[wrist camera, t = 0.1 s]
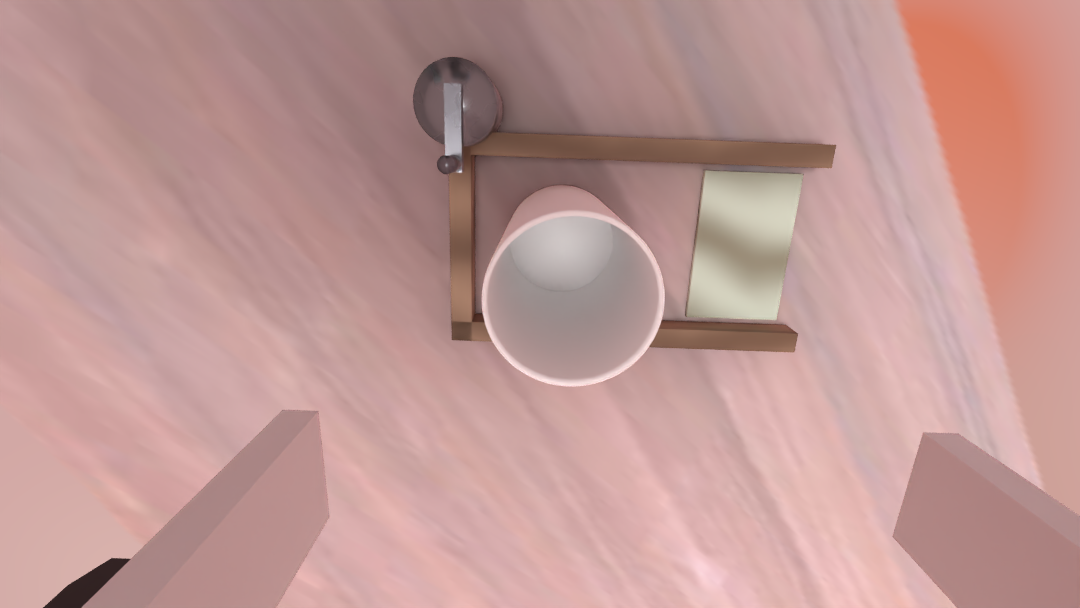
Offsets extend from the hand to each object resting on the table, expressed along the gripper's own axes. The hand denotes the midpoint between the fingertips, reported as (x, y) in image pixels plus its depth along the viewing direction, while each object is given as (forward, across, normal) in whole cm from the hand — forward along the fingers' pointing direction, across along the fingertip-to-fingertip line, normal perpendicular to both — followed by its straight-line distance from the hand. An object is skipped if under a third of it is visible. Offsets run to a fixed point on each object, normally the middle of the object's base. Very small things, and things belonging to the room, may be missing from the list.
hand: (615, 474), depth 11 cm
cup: (+28, 0, 0) cm, 28 cm away
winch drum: (+28, -7, +10) cm, 30 cm away
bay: (+28, +5, 0) cm, 28 cm away
